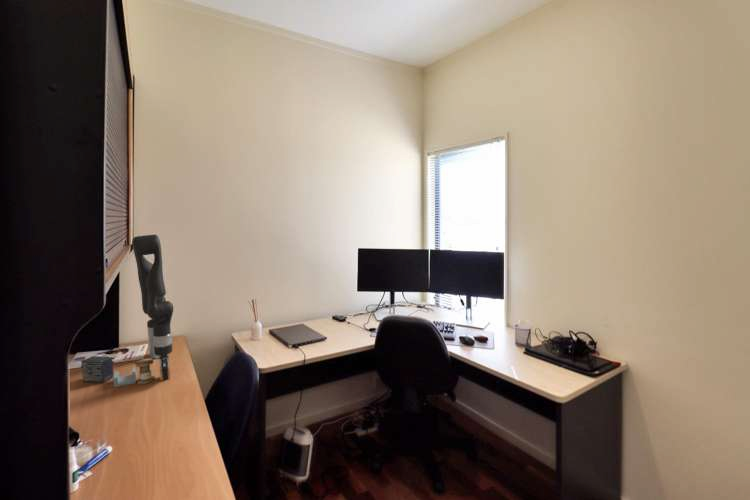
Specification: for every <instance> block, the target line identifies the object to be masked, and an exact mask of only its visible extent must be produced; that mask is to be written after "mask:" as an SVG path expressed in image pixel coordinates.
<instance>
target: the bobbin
mask: <svg viewBox="0 0 750 500" xmlns="http://www.w3.org/2000/svg"><path fill="white" fill-rule="evenodd" d="M153 363H154V358H150V357H149V358H143V359H140V360H136V362H135V367H136V368H139V372H138V378H136V384H138V385H147V384H150V383H151V382H154V381H155V375H153V374H152V369H151V365H152V364H153Z"/></svg>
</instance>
